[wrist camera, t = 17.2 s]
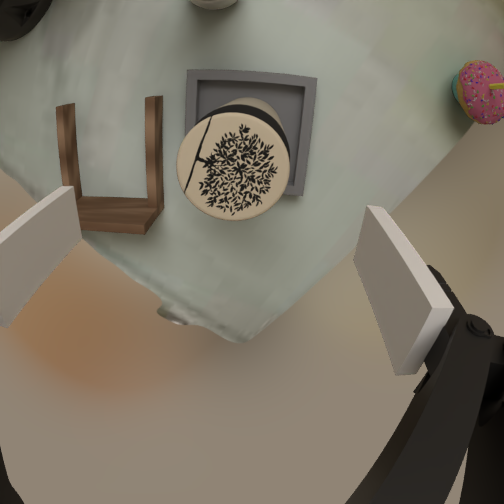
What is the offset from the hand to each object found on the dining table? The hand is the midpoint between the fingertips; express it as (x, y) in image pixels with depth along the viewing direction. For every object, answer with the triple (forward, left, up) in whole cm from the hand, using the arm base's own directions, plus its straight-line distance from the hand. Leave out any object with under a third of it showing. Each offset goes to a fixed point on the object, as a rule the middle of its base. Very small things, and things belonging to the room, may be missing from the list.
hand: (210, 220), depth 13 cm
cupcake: (-11, +29, -27) cm, 41 cm away
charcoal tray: (0, 0, -27) cm, 27 cm away
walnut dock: (+4, -18, -27) cm, 32 cm away
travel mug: (0, 0, -26) cm, 26 cm away
